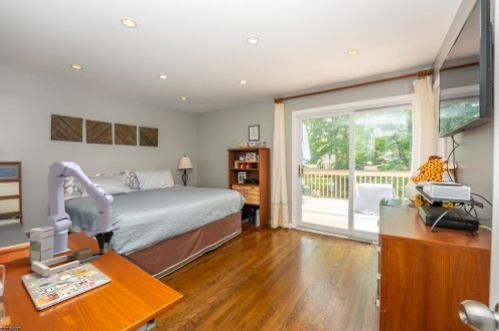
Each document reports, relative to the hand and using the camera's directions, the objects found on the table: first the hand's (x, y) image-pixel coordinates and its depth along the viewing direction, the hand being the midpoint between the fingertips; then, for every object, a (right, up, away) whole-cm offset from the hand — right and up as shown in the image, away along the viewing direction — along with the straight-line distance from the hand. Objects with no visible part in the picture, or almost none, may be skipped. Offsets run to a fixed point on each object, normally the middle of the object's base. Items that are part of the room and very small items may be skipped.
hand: (103, 247), depth 108 cm
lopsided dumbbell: (-3, -2, -5) cm, 6 cm away
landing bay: (-4, -2, -8) cm, 9 cm away
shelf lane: (-9, -2, -16) cm, 18 cm away
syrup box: (-21, -2, -10) cm, 23 cm away
